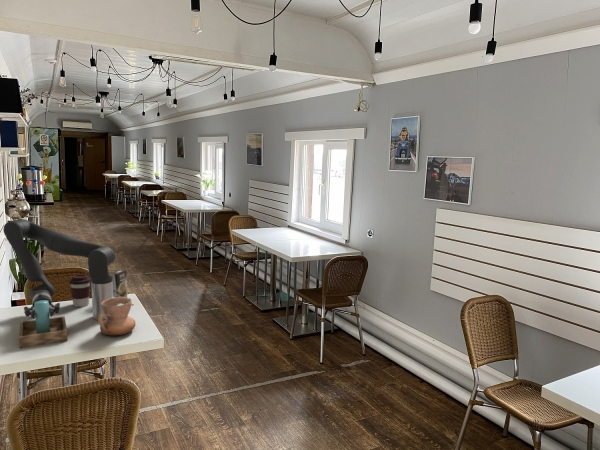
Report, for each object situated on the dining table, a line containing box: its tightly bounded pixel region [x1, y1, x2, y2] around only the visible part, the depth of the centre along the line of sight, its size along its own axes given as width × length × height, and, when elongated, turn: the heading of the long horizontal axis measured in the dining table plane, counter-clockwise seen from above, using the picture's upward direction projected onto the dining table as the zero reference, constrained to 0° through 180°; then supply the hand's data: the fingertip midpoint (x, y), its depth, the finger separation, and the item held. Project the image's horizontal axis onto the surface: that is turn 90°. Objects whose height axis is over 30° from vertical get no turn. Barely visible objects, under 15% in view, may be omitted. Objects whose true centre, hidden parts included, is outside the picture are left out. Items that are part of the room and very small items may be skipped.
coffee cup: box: [68, 273, 91, 308], centre depth 235 cm, size 10×10×15 cm
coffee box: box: [108, 268, 128, 298], centre depth 242 cm, size 9×6×16 cm
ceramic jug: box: [97, 296, 136, 336], centre depth 203 cm, size 18×14×14 cm
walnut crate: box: [18, 316, 68, 349], centre depth 197 cm, size 17×18×4 cm
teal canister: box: [34, 300, 51, 334], centre depth 196 cm, size 5×5×14 cm
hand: (42, 315), depth 194 cm, fingers open, 5 cm apart
